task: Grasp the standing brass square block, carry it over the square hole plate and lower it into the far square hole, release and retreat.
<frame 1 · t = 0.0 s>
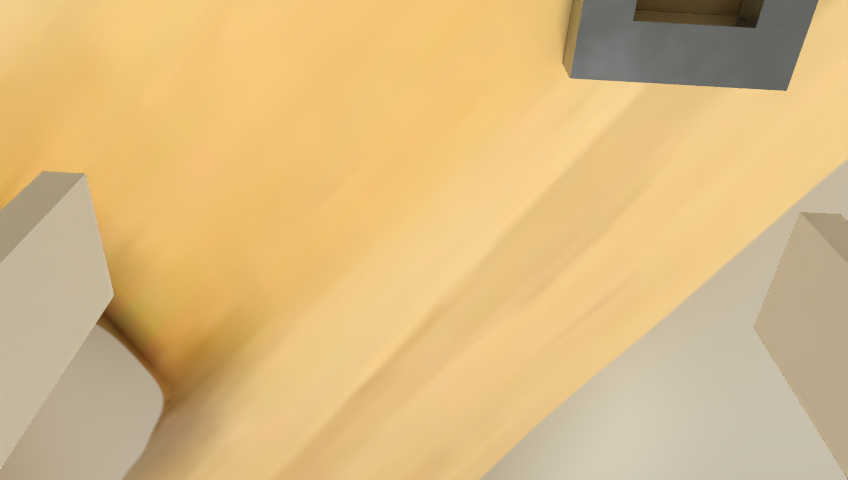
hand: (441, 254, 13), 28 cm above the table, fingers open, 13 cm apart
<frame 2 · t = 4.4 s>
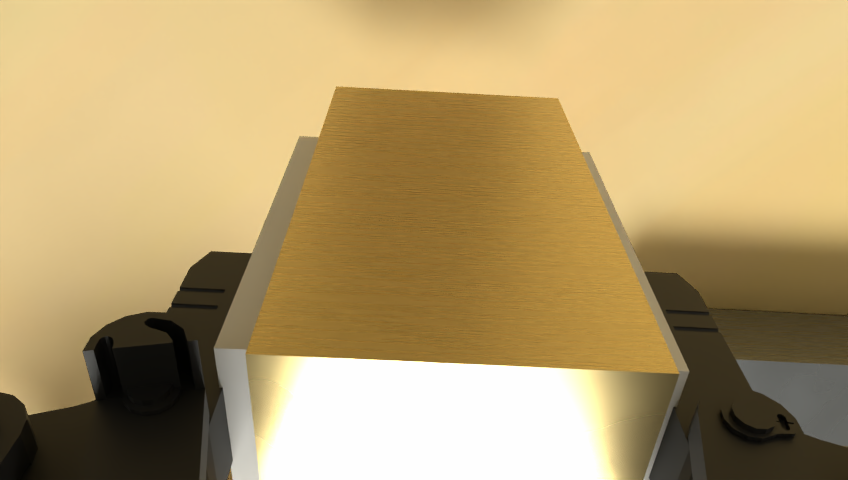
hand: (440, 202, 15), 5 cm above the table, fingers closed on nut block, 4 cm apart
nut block: (440, 190, 15), point 4 cm above the table, touching gripper
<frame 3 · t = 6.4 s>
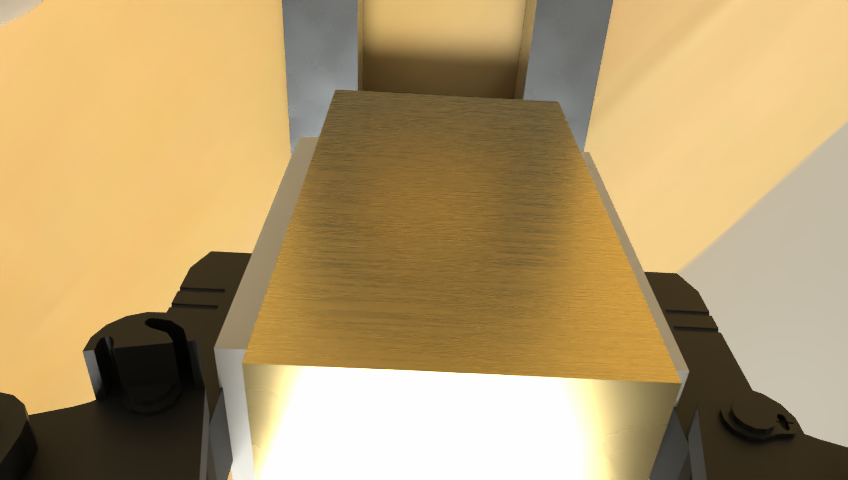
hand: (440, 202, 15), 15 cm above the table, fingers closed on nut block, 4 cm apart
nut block: (439, 193, 15), point 15 cm above the table, touching gripper
when the fingers open (3 cm above the table, at t = 8.4 s): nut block drops 3 cm, resting in square hole plate.
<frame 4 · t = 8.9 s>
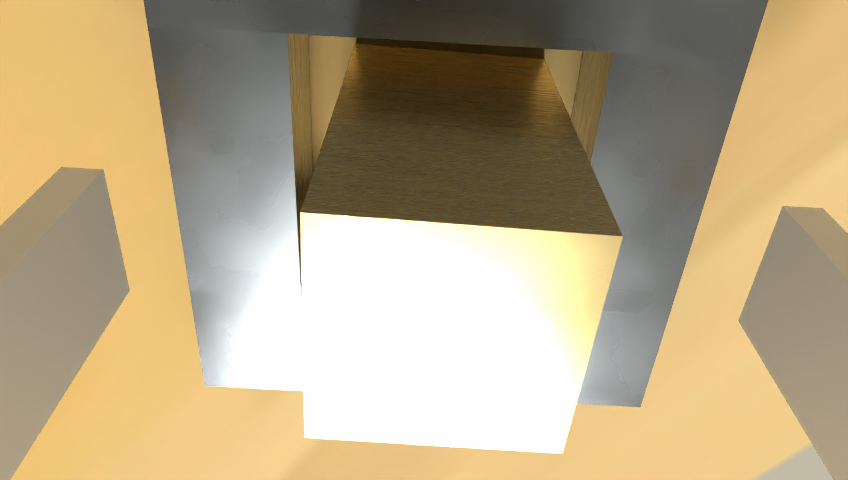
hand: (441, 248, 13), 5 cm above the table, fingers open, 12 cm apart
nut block: (441, 138, 17), resting in square hole plate
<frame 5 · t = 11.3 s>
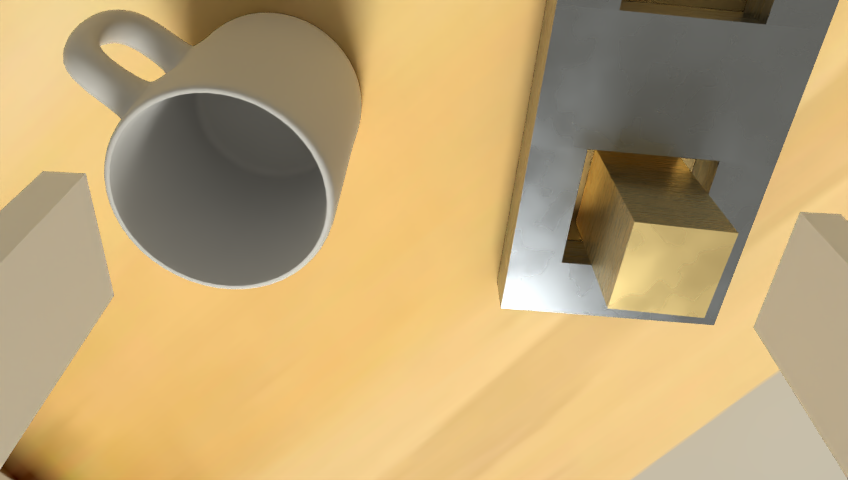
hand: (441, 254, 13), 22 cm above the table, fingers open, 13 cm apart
square hole plate: (656, 73, 33), on the table
mug: (249, 74, 34), on the table
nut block: (626, 190, 37), resting in square hole plate
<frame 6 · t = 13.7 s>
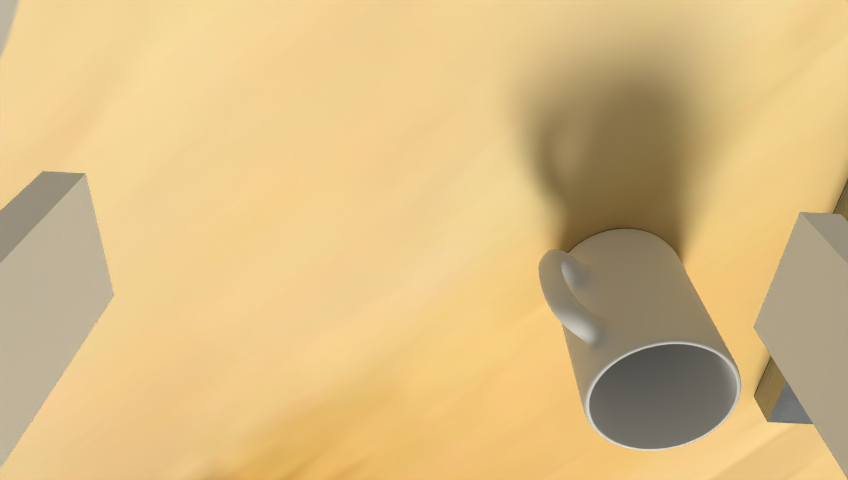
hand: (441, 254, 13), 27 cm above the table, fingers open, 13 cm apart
mug: (597, 265, 46), on the table
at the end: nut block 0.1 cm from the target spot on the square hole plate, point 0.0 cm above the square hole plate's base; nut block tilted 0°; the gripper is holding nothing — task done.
